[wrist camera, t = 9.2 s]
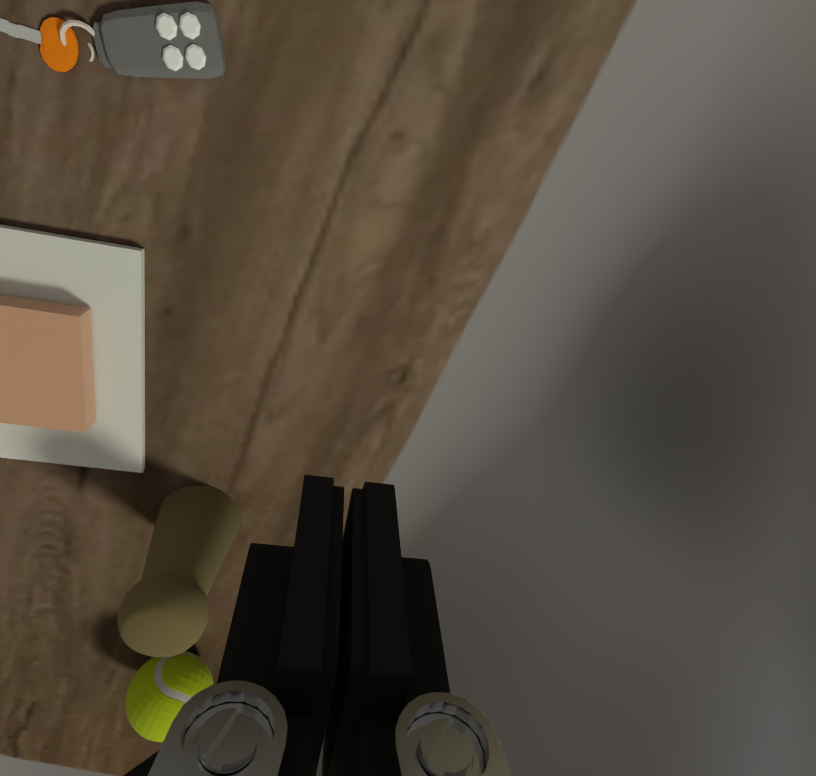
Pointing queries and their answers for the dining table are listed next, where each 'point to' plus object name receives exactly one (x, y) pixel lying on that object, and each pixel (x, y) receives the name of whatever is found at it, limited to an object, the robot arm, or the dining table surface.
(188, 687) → the tennis ball
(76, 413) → the tile
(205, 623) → the cork
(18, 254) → the mat
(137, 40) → the key chain
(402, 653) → the robot arm
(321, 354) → the dining table surface
